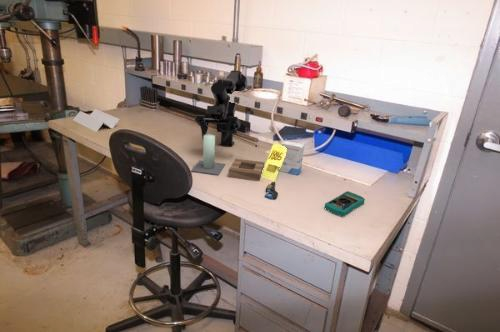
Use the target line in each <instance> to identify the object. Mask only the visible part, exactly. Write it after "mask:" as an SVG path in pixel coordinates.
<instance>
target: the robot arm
mask: <svg viewBox="0 0 500 332" xmlns="http://www.w3.org/2000/svg"><path fill="white" fill-rule="evenodd" d="M216 81H217V82H214V83H213V84H212V85H211V86H210V90H211V93H212V95H213V99H214V100H215V102H214V104H213V105H206V114H207V115H209V117H210V118H208V117H207V116H206V115H205V114H197V115H196V116H195V117H194V122H195V123H196V124H197V125H198V126H200V130H201V137H202V138H201V139H202V140H203V141H204V135H207V133H208V129H209V127H208V126H209V124H216V132H217V133H220V141H219V143H218V146H222V147H231V148H232V147H233V145H234V144H235V141H234V139H233V138H234V135H235V134H238V129H240V128H241V120H240V119H239V117H238V116H235V113H236V109H237V106H238V103H237V104H235V103H231V102H229V100H230V94H232V93H233V92H234V91H242V90H246V89H247V87H248V78H247V77H246V76H245V74H244V73H242V71H240V70H234V69H232V70H230V73H229V74H228V75H227V76H226V77H225V78H219V79H217V80H216Z"/></svg>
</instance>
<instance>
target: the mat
mask: <svg viewBox="0 0 500 332" xmlns="http://www.w3.org/2000/svg"><path fill="white" fill-rule="evenodd" d="M225 166H226V163H223V162H215V161H214V168H213V169H205V168H203V160H198V162H197V163H196V164H195V165H194V166H193V168H192V169H191V170H190V172H191V173H197V174H202V175H203V174H204V175H210V176H211V175H213V176H219V175H220V174H221V173H222V170H223V169H224V168H225Z"/></svg>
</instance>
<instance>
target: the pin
mask: <svg viewBox="0 0 500 332" xmlns="http://www.w3.org/2000/svg"><path fill="white" fill-rule="evenodd" d="M202 146H203V153H202V156H203V158H202V159H203V160H202V161H203V168H205V169H213V168H214V162H215V155H216V154H215V152H216V151H215V149H216V135H214V134H210V133H209V134H207V133H206V135H204V140H203V145H202Z"/></svg>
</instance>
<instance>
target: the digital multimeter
mask: <svg viewBox="0 0 500 332" xmlns="http://www.w3.org/2000/svg"><path fill="white" fill-rule="evenodd" d="M365 200H366V199H365V197H363V196H361V195H359V194H357V193H355V192H351V191H348V190H347V191H345V192H343V193H342V194H340V195H338V196H336V197H335V198H332V199H331V200H329V201H328V202H325V203H324V209H325V208H326V209H327V210H329V211H330V213H331V212H332V214H333V213H335V214H338V215H341V216H344V217H346V216H347V215H348V214H350V213H351V212H352V211H354V210H355V208H356V209H357V208H359V207H360V205H361V206H362V205H364V204H365V202H366V201H365ZM326 209H325V210H326ZM353 209H354V210H353ZM327 210H326V211H327ZM329 211H328V212H329ZM350 211H351V212H350ZM349 212H350V213H349ZM347 213H348V214H347ZM335 214H334V215H335ZM346 214H347V215H346ZM338 215H337V216H338ZM345 215H346V216H345ZM341 216H340V217H341Z"/></svg>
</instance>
